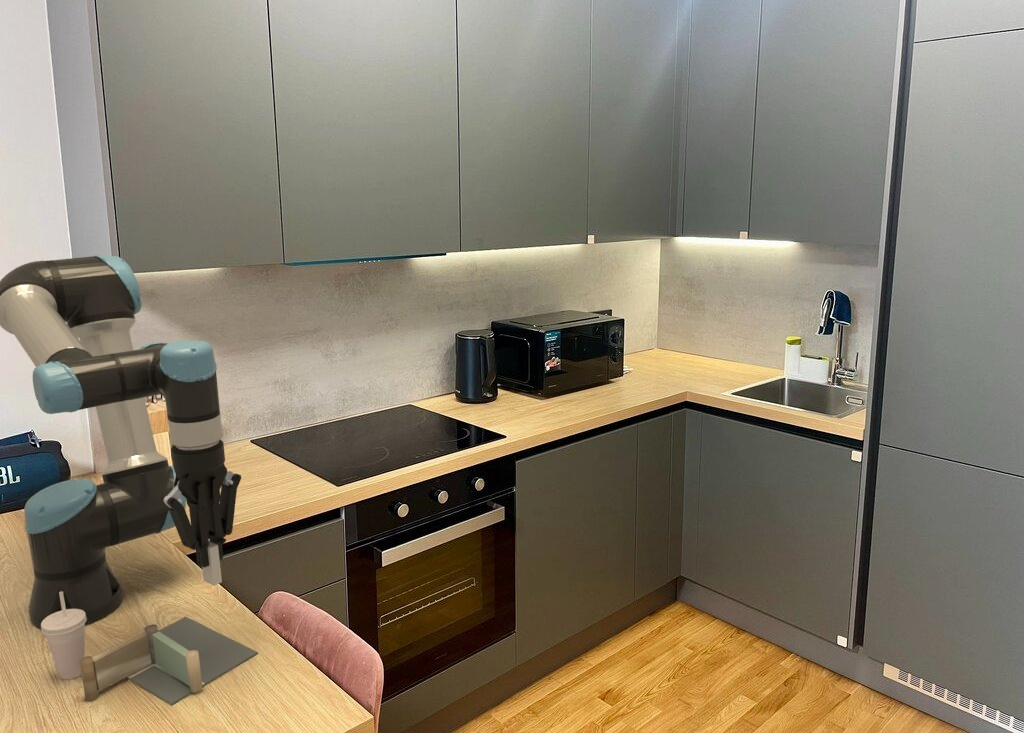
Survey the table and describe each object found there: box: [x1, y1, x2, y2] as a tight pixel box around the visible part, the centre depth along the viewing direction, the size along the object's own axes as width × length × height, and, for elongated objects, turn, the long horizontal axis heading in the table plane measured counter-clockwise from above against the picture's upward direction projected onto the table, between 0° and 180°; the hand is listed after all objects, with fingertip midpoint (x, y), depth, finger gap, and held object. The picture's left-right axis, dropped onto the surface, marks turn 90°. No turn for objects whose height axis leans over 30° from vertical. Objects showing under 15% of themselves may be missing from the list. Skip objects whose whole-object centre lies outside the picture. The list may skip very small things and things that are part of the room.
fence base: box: [79, 623, 159, 702], centre depth 129 cm, size 2×13×7 cm, turn 145°
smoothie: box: [40, 592, 87, 681], centre depth 130 cm, size 6×6×14 cm
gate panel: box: [152, 632, 204, 693], centre depth 129 cm, size 12×2×6 cm, turn 52°
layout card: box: [124, 616, 259, 706], centre depth 135 cm, size 20×16×1 cm
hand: (212, 581), depth 131 cm, fingers closed
